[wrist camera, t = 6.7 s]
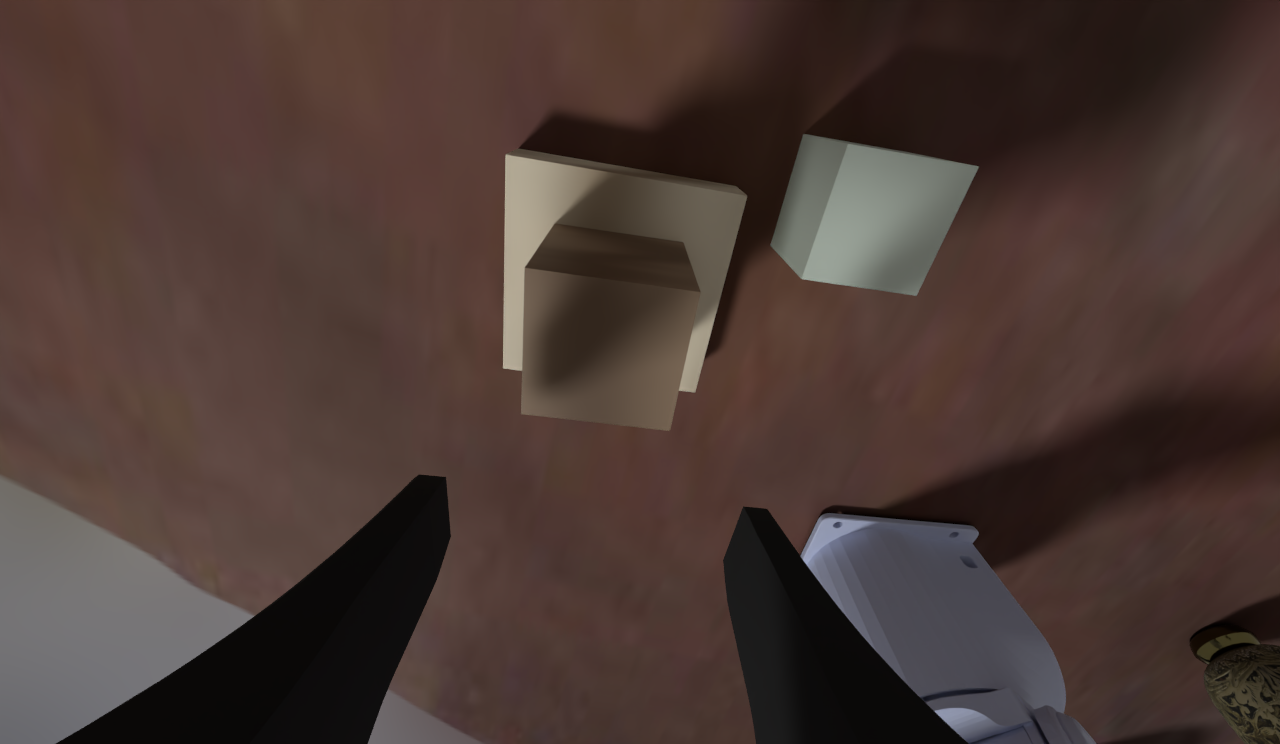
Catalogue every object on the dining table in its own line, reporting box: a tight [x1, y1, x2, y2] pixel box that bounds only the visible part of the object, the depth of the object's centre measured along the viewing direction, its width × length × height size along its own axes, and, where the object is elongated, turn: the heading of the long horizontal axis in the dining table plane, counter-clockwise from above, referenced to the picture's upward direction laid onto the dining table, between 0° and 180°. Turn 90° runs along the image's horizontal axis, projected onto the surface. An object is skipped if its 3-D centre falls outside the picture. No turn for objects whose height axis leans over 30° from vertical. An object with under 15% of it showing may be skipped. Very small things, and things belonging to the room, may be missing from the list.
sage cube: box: [770, 134, 979, 296], centre depth 16 cm, size 4×4×4 cm
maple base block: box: [503, 148, 747, 392], centre depth 18 cm, size 8×8×2 cm
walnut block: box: [521, 223, 701, 431], centre depth 15 cm, size 4×4×5 cm
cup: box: [1190, 625, 1280, 744], centre depth 30 cm, size 8×7×8 cm
